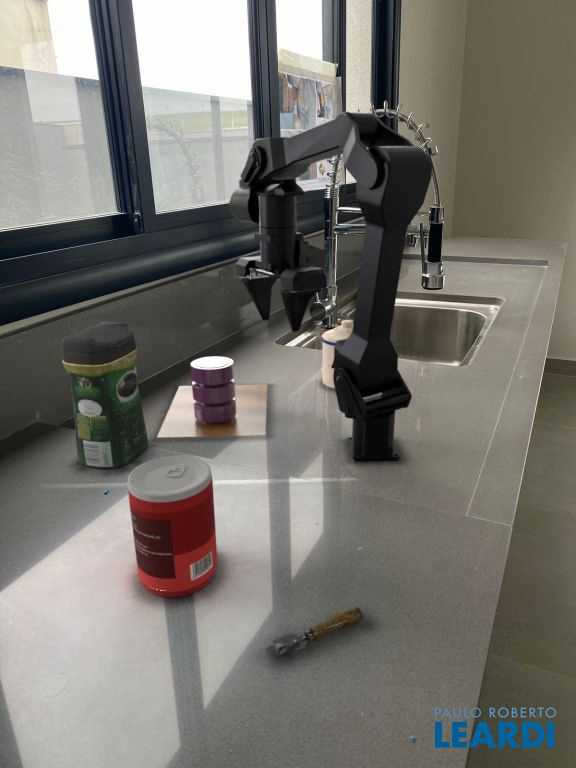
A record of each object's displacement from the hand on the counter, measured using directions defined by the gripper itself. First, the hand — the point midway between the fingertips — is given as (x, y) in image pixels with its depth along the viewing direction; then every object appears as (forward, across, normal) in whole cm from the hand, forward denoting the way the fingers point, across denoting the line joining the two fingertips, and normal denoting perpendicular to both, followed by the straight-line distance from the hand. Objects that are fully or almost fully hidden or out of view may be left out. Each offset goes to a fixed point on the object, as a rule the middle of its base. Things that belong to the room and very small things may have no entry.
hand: (280, 325), depth 98 cm
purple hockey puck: (+7, -1, +13) cm, 14 cm away
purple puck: (+10, -1, +13) cm, 16 cm away
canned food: (+13, -33, +32) cm, 48 cm away
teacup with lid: (+13, +2, -16) cm, 21 cm away
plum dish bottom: (+13, -1, +13) cm, 18 cm away
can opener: (+13, -48, +26) cm, 56 cm away
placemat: (+13, +2, +11) cm, 17 cm away
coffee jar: (+13, -4, +30) cm, 33 cm away
